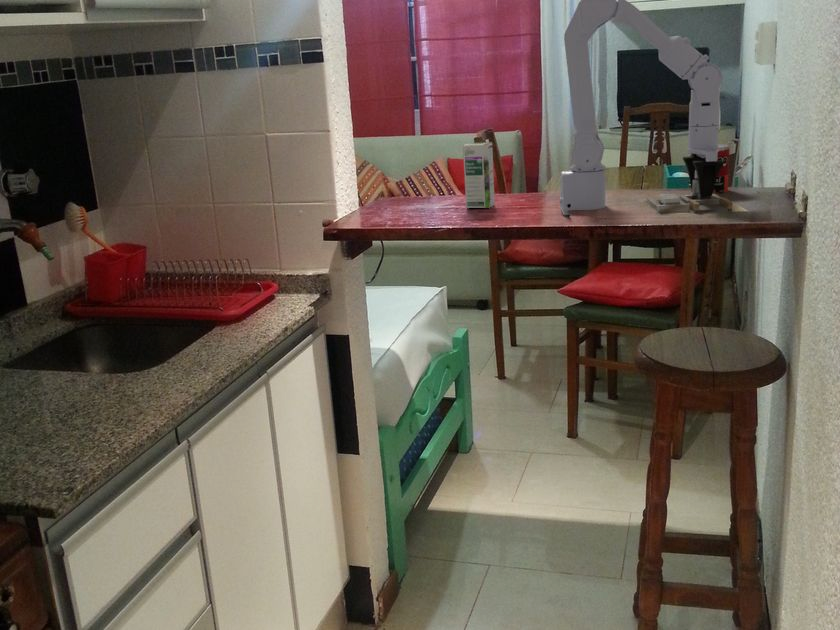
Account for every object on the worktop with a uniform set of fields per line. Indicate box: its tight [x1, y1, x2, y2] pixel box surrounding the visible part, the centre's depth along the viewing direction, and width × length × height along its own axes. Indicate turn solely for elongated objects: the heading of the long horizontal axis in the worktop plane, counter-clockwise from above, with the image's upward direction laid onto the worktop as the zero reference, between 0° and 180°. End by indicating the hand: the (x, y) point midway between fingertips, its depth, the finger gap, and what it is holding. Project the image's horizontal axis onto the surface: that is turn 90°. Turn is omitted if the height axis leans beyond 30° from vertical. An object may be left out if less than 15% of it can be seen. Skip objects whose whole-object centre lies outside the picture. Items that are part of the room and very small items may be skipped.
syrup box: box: [462, 141, 495, 209], centre depth 186 cm, size 6×6×14 cm
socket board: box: [643, 194, 749, 216], centre depth 167 cm, size 17×17×3 cm
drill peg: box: [691, 170, 711, 200], centre depth 167 cm, size 4×4×7 cm
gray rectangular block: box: [658, 193, 680, 205], centre depth 166 cm, size 3×6×2 cm, turn 175°
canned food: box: [690, 143, 730, 195], centre depth 181 cm, size 8×8×11 cm
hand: (701, 193), depth 168 cm, fingers open, 7 cm apart
